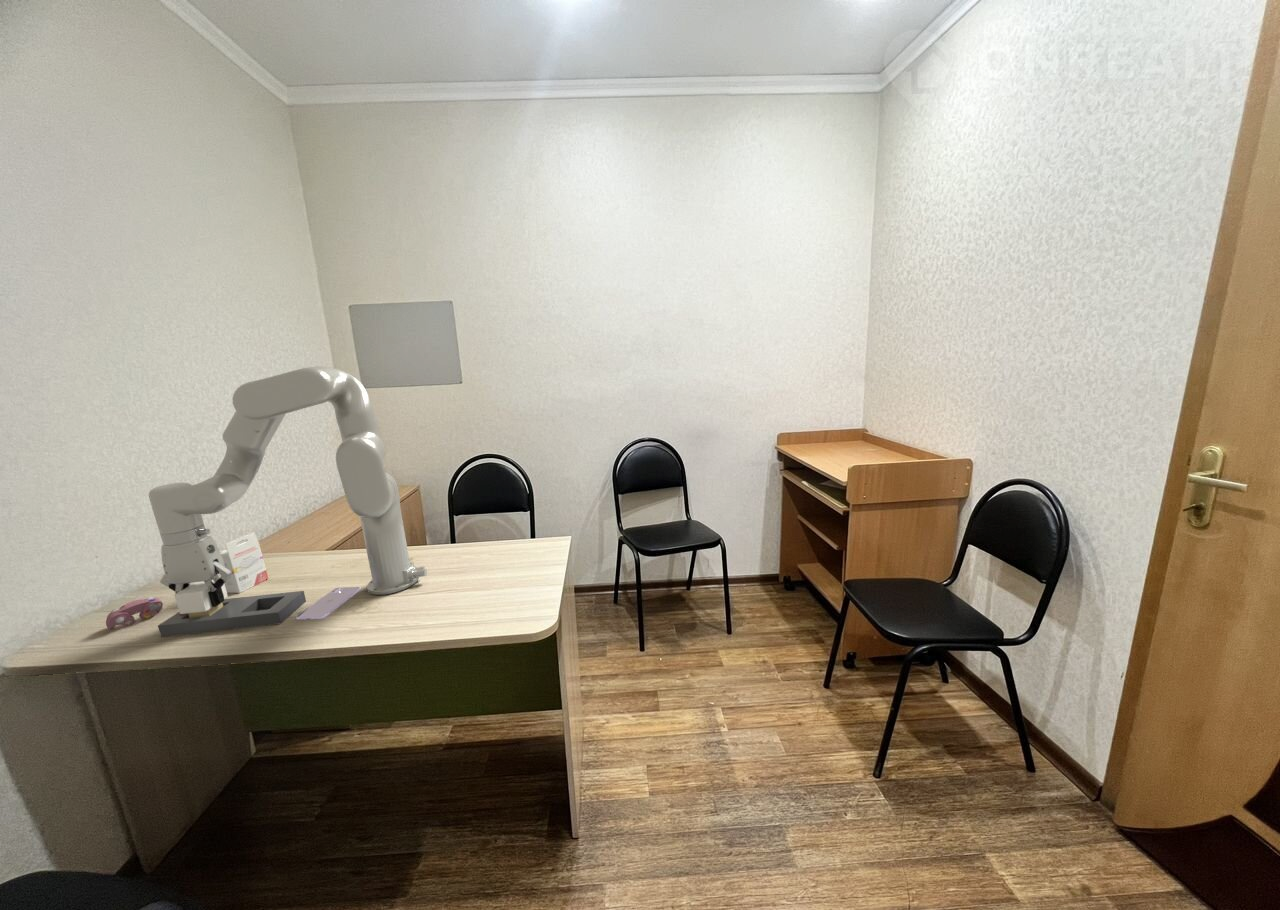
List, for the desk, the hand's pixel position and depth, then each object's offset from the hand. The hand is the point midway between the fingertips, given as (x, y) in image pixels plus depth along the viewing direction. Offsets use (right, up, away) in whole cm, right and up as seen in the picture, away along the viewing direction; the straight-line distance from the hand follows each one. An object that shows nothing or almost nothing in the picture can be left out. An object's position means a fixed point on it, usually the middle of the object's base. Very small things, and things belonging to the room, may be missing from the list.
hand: (204, 604), depth 113 cm
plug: (0, -3, +1) cm, 4 cm away
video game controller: (-19, -5, +3) cm, 20 cm away
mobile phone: (+26, -2, +7) cm, 27 cm away
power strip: (+7, -4, +2) cm, 8 cm away
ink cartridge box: (-6, -1, +19) cm, 20 cm away
